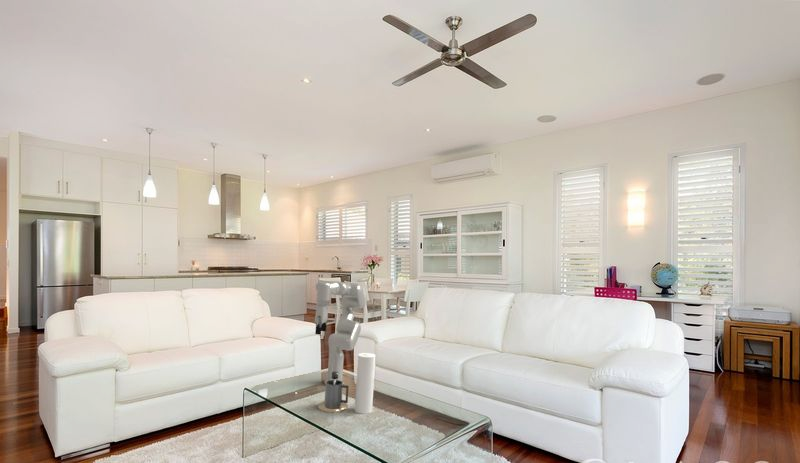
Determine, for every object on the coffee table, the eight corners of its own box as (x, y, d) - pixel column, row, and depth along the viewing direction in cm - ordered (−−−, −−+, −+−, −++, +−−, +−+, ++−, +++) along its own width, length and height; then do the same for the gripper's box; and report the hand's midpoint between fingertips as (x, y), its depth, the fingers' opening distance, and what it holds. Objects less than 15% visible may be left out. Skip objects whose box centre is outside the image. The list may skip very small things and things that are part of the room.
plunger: (329, 397, 233) (331, 370, 234) (340, 398, 232) (342, 371, 233) (325, 401, 227) (327, 373, 227) (337, 403, 226) (339, 374, 226)
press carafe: (323, 400, 238) (324, 376, 239) (350, 403, 236) (352, 379, 237) (313, 410, 222) (315, 385, 223) (343, 413, 220) (344, 388, 221)
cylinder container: (369, 414, 222) (373, 357, 223) (352, 412, 223) (356, 355, 225) (373, 408, 231) (377, 353, 232) (357, 406, 233) (361, 351, 234)
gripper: (321, 301, 256) (319, 329, 256) (311, 304, 239) (309, 334, 239) (333, 302, 255) (331, 330, 255) (324, 305, 238) (322, 336, 238)
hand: (320, 332), depth 247 cm, fingers open, 9 cm apart
